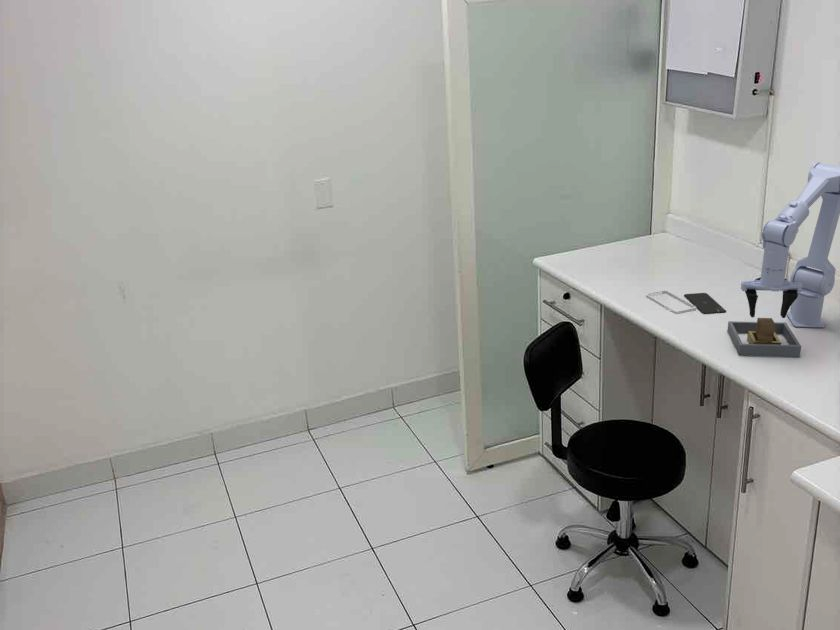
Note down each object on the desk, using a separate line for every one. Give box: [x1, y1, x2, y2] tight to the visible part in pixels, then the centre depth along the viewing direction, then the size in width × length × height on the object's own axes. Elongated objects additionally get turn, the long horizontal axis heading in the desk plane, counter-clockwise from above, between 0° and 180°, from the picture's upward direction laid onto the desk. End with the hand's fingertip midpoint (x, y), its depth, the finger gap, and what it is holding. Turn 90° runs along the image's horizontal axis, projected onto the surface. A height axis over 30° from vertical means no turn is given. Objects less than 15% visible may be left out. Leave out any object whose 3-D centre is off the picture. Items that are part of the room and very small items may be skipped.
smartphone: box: [683, 292, 727, 315], centre depth 252 cm, size 7×1×15 cm
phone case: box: [645, 289, 697, 315], centre depth 253 cm, size 7×1×15 cm
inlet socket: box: [746, 331, 782, 345], centre depth 225 cm, size 7×7×2 cm
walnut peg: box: [755, 317, 776, 341], centre depth 224 cm, size 4×4×7 cm
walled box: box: [726, 320, 802, 358], centre depth 226 cm, size 15×15×3 cm
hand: (767, 316), depth 222 cm, fingers open, 7 cm apart
